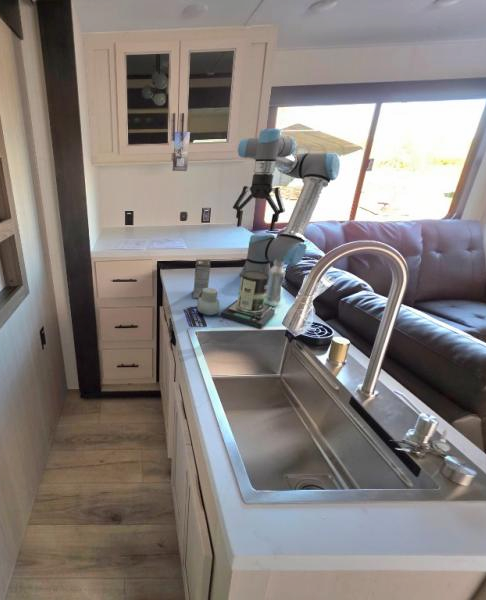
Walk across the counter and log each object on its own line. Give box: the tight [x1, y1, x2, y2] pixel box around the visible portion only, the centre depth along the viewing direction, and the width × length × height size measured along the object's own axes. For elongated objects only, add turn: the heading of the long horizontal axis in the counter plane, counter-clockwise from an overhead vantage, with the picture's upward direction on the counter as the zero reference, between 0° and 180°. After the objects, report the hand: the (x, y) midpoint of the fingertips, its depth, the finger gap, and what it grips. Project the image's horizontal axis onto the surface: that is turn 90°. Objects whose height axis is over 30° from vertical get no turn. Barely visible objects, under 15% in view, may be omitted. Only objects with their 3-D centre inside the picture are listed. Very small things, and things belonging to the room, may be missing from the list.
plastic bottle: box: [264, 259, 286, 307], centre depth 133 cm, size 6×7×20 cm
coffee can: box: [237, 271, 270, 313], centre depth 125 cm, size 10×10×14 cm
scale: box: [220, 299, 276, 330], centre depth 127 cm, size 16×16×2 cm
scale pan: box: [228, 301, 273, 320], centre depth 128 cm, size 13×13×1 cm
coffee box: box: [192, 259, 211, 300], centre depth 144 cm, size 9×6×16 cm
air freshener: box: [196, 287, 221, 316], centre depth 128 cm, size 11×8×10 cm
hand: (254, 228), depth 131 cm, fingers open, 13 cm apart
